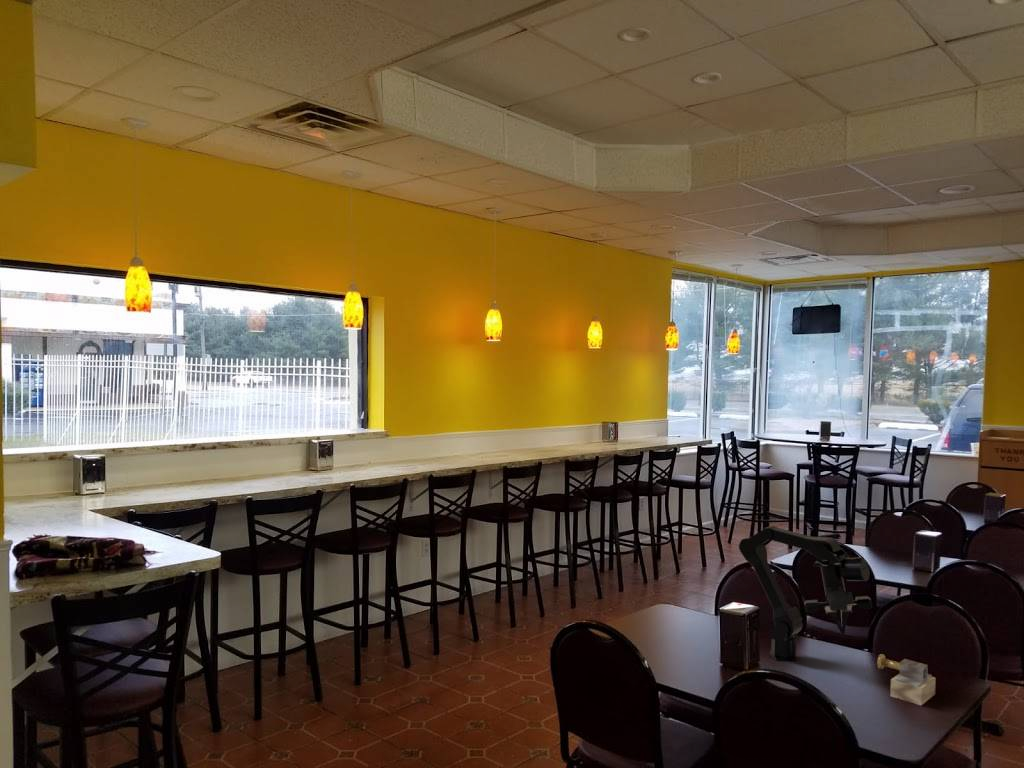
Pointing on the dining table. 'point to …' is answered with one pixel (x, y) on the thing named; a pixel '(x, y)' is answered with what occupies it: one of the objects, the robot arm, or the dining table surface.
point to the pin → (887, 663)
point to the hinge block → (913, 683)
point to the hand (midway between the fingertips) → (842, 633)
